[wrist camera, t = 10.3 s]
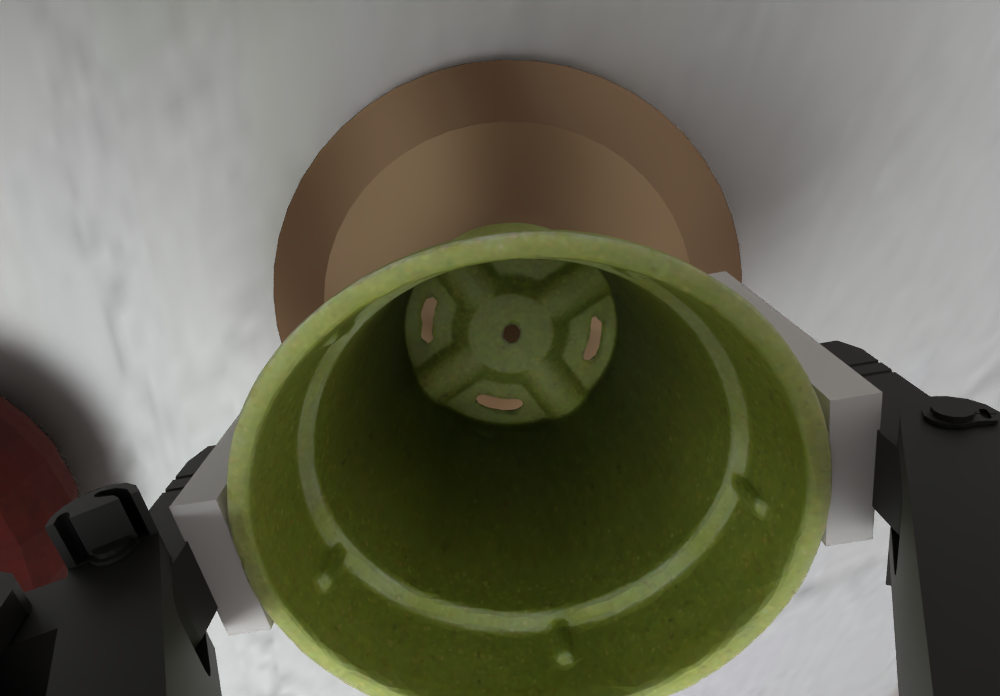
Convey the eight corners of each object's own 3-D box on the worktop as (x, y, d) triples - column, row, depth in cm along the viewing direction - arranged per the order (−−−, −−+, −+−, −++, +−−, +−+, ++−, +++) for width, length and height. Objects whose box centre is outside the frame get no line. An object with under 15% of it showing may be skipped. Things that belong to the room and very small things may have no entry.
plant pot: (641, 480, 20) (747, 746, 12) (342, 458, 19) (241, 720, 11) (709, 179, 16) (926, 268, 8) (344, 141, 16) (199, 196, 8)
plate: (351, 515, 23) (344, 536, 22) (218, 112, 17) (202, 114, 16) (735, 455, 22) (748, 472, 21) (721, 15, 17) (736, 11, 16)
